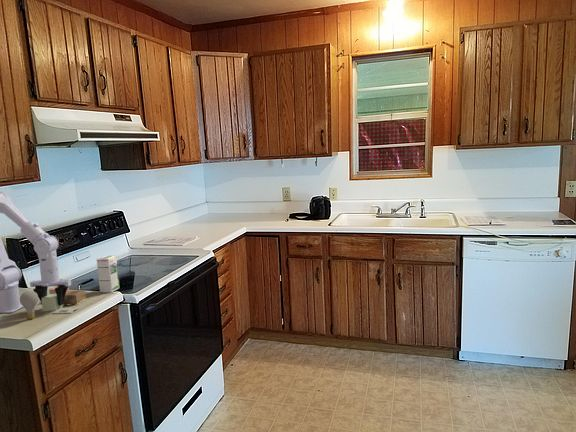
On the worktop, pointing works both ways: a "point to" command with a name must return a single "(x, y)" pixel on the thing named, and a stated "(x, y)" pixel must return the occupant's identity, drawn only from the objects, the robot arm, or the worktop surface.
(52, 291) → the terracotta block
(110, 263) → the syrup box
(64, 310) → the card
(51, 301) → the sage block
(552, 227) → the worktop surface
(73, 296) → the walnut block
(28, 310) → the light bulb
